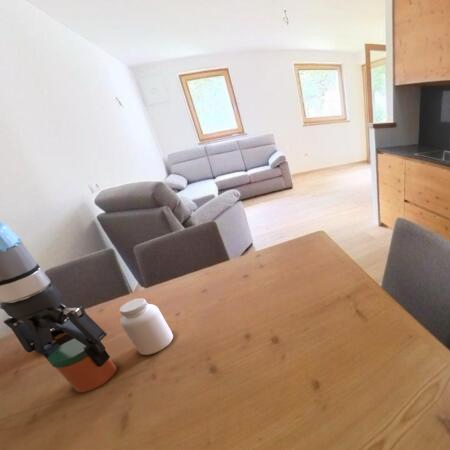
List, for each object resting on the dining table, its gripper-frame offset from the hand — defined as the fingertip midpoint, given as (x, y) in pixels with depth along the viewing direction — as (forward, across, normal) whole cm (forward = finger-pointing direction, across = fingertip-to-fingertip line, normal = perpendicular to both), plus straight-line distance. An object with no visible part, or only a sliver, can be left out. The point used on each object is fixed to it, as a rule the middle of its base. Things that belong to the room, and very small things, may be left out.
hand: (85, 364), depth 69 cm
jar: (+5, 0, 0) cm, 5 cm away
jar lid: (-5, 0, 0) cm, 5 cm away
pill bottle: (+5, -9, -9) cm, 14 cm away
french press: (+5, +22, -16) cm, 28 cm away
